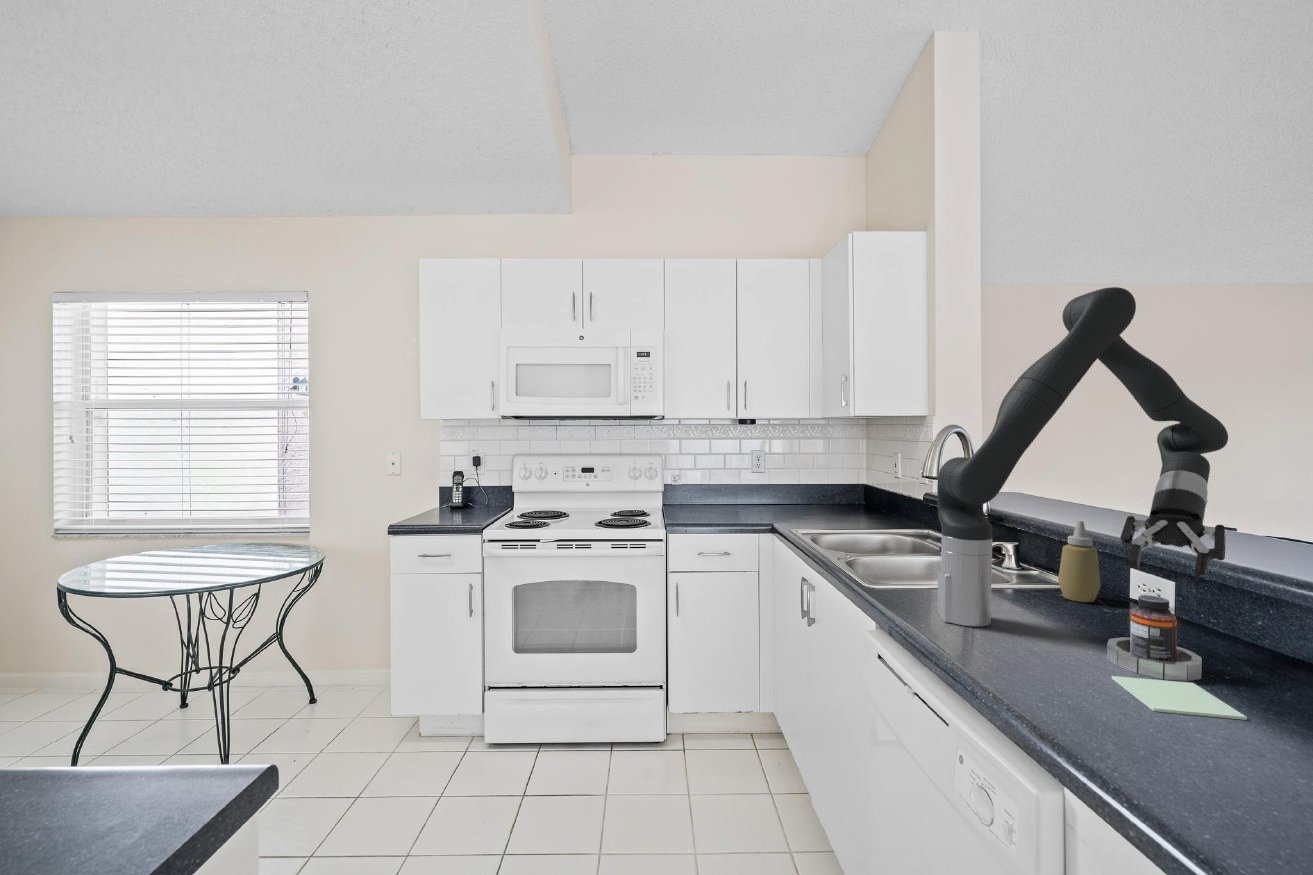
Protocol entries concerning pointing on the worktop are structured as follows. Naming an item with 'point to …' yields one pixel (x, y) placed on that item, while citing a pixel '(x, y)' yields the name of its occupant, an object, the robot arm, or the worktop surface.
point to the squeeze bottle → (1079, 567)
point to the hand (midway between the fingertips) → (1165, 569)
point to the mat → (1177, 697)
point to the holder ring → (1155, 662)
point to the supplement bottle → (1153, 629)
